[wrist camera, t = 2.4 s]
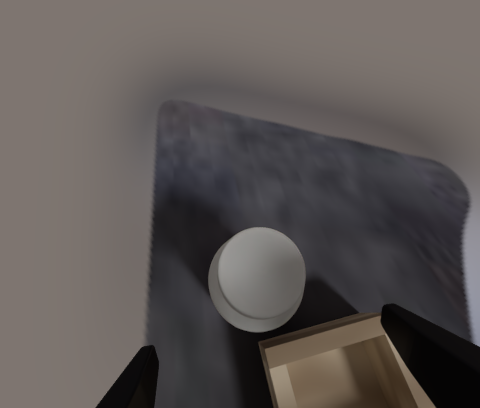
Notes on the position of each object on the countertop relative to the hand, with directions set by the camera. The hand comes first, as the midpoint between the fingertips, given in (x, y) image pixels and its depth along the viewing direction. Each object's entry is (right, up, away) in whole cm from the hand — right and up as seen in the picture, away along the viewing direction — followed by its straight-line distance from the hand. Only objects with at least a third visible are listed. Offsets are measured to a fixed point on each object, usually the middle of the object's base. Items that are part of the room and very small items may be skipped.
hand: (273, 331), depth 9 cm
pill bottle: (-1, -2, +10) cm, 10 cm away
